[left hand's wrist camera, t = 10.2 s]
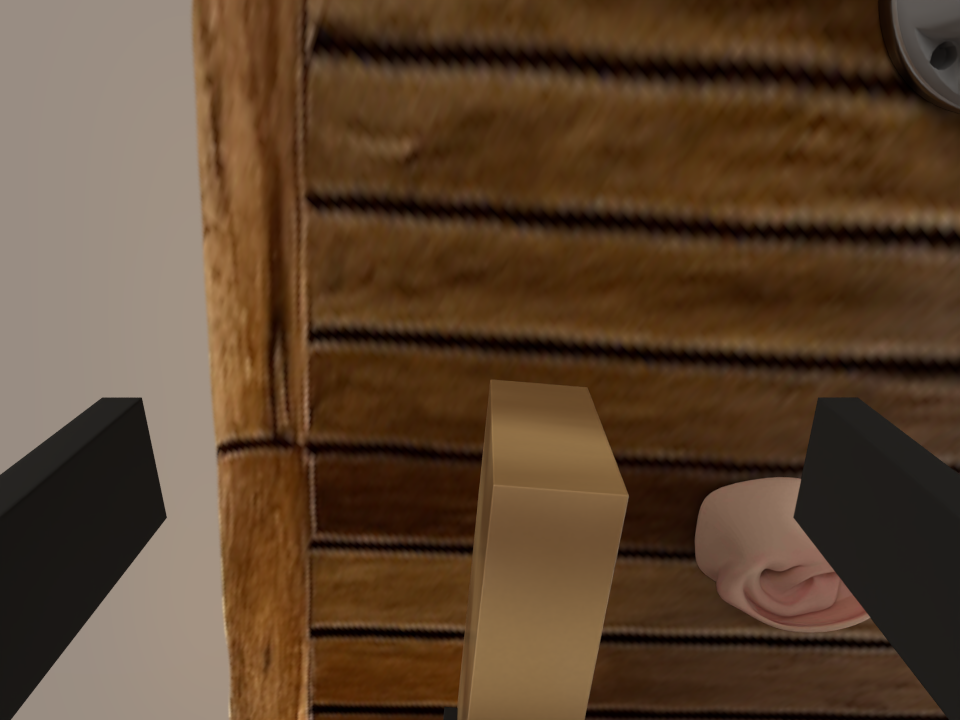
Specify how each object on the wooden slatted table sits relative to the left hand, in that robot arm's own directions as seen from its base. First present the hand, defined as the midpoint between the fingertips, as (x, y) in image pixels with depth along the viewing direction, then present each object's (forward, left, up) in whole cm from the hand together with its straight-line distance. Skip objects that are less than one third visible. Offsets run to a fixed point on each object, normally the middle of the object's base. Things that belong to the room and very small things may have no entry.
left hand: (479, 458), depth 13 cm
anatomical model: (-22, +24, -29) cm, 44 cm away
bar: (-2, +17, -16) cm, 24 cm away
